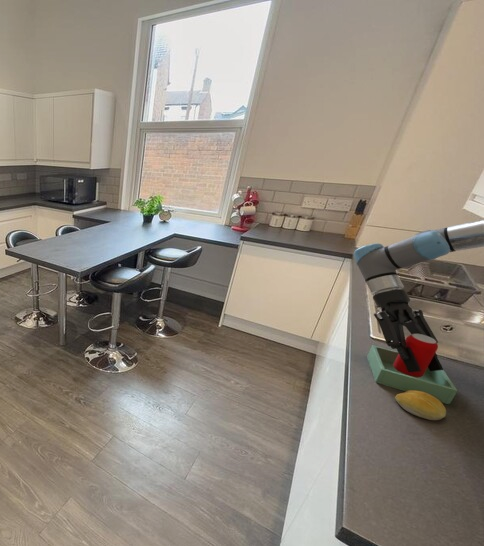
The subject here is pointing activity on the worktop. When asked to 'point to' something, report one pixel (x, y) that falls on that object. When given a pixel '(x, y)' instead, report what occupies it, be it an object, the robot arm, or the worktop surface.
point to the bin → (389, 376)
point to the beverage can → (418, 354)
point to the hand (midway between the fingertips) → (425, 371)
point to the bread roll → (421, 404)
